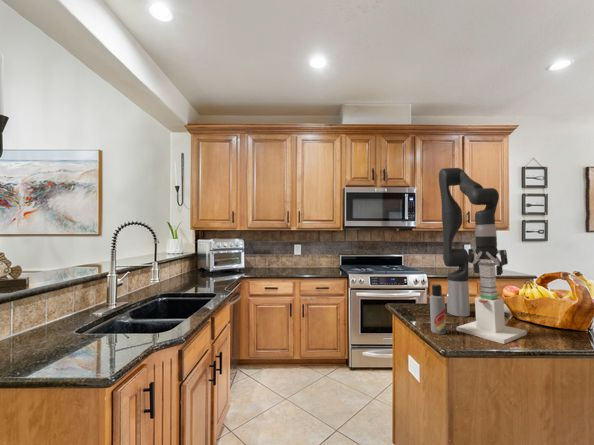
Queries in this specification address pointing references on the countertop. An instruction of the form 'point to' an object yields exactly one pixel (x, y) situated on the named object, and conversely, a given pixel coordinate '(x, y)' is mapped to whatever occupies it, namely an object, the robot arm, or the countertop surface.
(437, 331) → the lotion bottle
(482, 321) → the stand
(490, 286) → the post
